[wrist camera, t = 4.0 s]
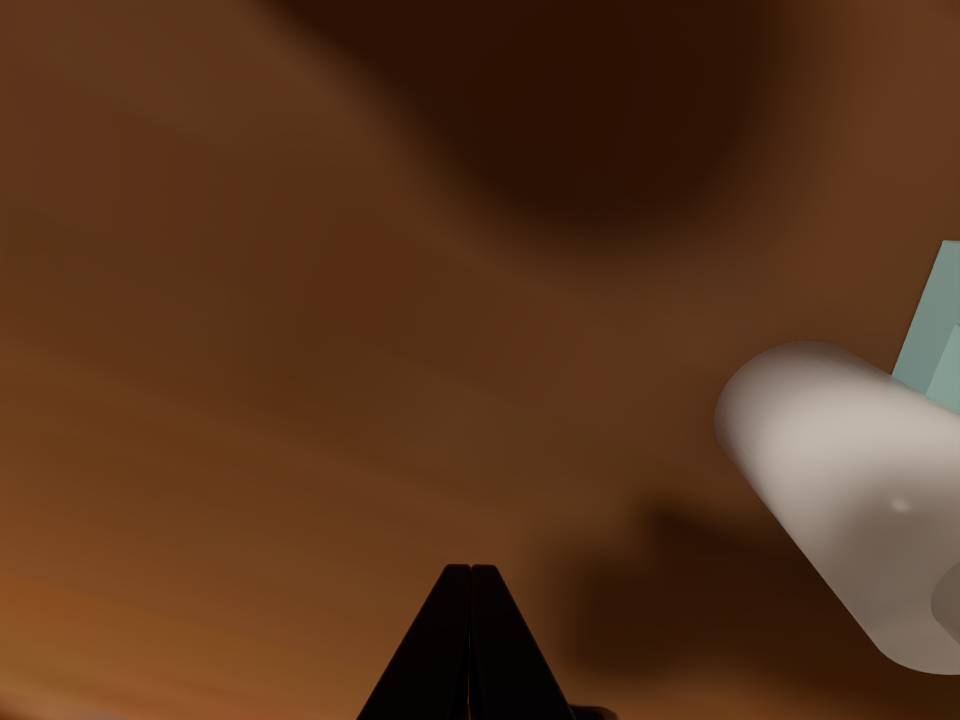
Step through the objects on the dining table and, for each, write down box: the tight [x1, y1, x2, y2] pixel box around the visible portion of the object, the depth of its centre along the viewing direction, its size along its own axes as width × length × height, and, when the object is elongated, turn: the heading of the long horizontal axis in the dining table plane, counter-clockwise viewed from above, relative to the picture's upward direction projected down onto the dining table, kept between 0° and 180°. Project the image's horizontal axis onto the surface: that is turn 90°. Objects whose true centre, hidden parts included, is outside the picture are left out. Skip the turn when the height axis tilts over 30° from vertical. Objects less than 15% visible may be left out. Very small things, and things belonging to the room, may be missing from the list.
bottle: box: [714, 340, 960, 675], centre depth 11 cm, size 4×4×8 cm
